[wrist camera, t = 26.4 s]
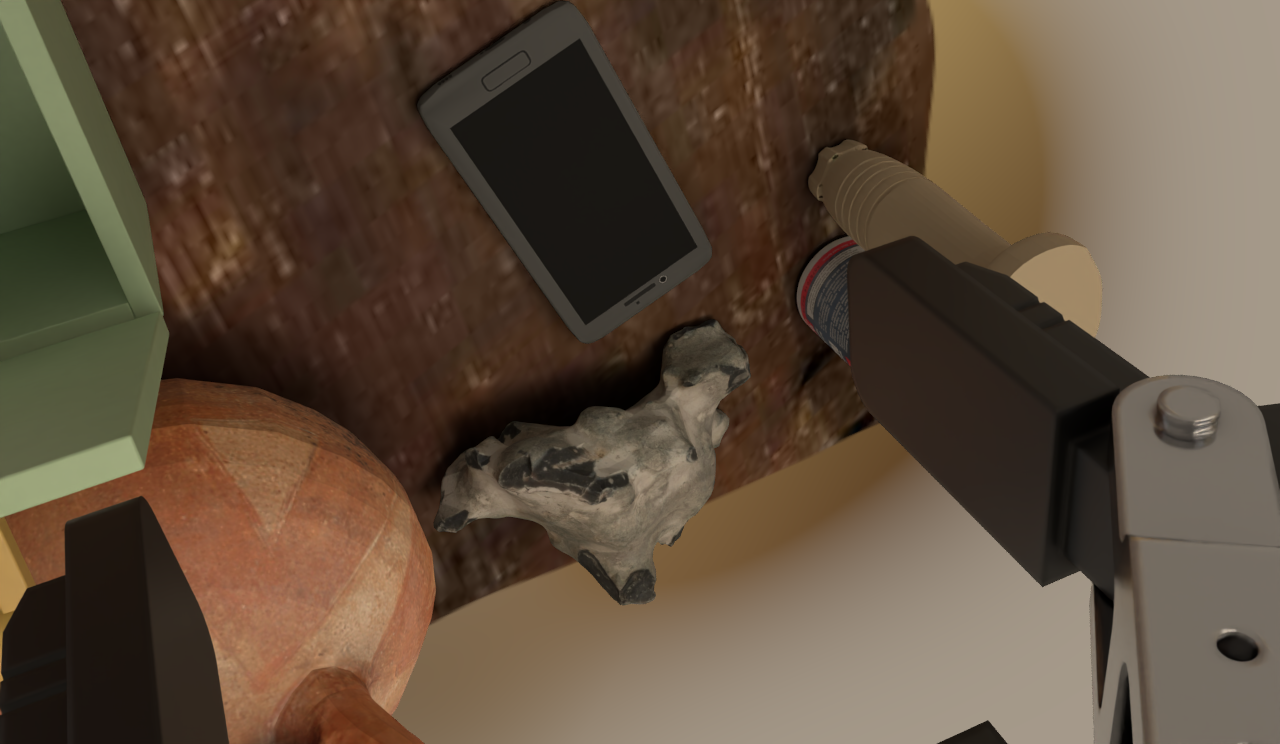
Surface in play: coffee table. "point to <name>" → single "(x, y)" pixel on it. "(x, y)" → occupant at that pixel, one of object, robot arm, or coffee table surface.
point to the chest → (63, 193)
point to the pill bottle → (828, 294)
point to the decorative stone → (611, 467)
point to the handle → (950, 229)
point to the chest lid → (73, 425)
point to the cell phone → (567, 171)
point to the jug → (276, 560)
